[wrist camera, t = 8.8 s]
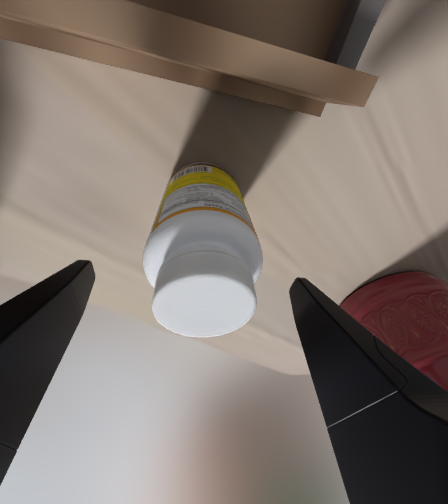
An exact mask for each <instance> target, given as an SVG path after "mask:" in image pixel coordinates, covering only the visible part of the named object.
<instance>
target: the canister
mask: <svg viewBox="0 0 448 504" xmlns="http://www.w3.org/2000/svg"><path fill="white" fill-rule="evenodd" d="M340 307H341V308H342V309H343V310H345V311H346V312H347V313H348V314H349V315H351V316H352V317H353V318H354V319H355V320H357V321H358V322H359V323H360V324H361V325H363V326H364V327H365V328H366V329H367V330H369V331H370V332H371V333H372V334H373V335H375V336H376V337H377V338H378V339H380V340H381V341H382V342H383V343H384V344H386V345H387V346H388V347H389V348H391V349H392V350H393V351H394V352H396V353H397V354H398V355H400V356H401V357H402V358H403V359H405V360H406V361H407V362H409V363H410V364H411V365H413V366H414V367H415V368H417V369H418V370H419V371H421V372H422V373H423V374H425V375H426V376H427V377H429V378H430V379H431V380H433V381H434V382H435V383H437V384H438V385H439V386H441V387H442V388H443V389H445V390H446V391H448V284H447V283H446V282H444V281H442V280H440V279H437V278H436V277H434V276H433V275H431V274H429V273H425V272H403V273H398V274H394V275H390V276H386V277H384V278H381V279H378V280H376V281H374V282H371V283H369V284H367V285H366V286H364V287H362V288H360V289H359V290H357V291H356V292H354V293H353V294H352V295H350V296H349V297H348V298H347V299H346V300H345V301H344V302H343V303H342V304H341V306H340Z"/></svg>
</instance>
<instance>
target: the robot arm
mask: <svg viewBox="0 0 448 504" xmlns="http://www.w3.org/2000/svg"><path fill="white" fill-rule="evenodd" d="M94 281H95V272H94V269H93V265H92V262H91V261H89V260H77V261H76V262H74V263H72V264H70V265H69V266H67V267H65V268H64V269H62V270H60V271H58V272H57V273H55V274H53V275H52V276H50V277H48V278H46V279H45V280H43V281H41V282H39V283H38V284H36V285H34V286H33V287H31V288H30V289H27V290H26V291H24V292H22V293H21V294H19V295H17V296H15V297H14V298H12V299H10V300H9V301H7V302H5V303H3V304H2V305H0V485H1V483H2V481H3V479H4V477H5V475H6V473H7V470H8V468H9V466H10V464H11V462H12V460H13V458H14V456H15V454H16V452H17V449H18V448H19V445H20V443H21V441H22V439H23V437H24V435H25V433H26V431H27V429H28V427H29V425H30V423H31V421H32V419H33V417H34V415H35V413H36V410H37V408H38V406H39V404H40V402H41V400H42V398H43V396H44V394H45V392H46V390H47V387H48V386H49V384H50V382H51V380H52V377H53V375H54V373H55V371H56V369H57V367H58V365H59V363H60V361H61V359H62V357H63V355H64V353H65V351H66V349H67V346H68V345H69V342H70V340H71V338H72V336H73V334H74V332H75V330H76V328H77V326H78V324H79V322H80V320H81V317H82V315H83V313H84V310H85V307H86V305H87V302H88V299H89V296H90V293H91V290H92V287H93V284H94ZM289 294H290V299H291V304H292V310H293V315H294V320H295V324H296V327H297V331H298V334H299V337H300V341H301V344H302V347H303V350H304V354H305V357H306V360H307V364H308V367H309V370H310V373H311V377H312V380H313V383H314V387H315V390H316V393H317V396H318V399H319V403H320V406H321V410H322V413H323V416H324V419H325V423H326V426H327V430H328V433H329V437H330V440H331V443H332V446H333V450H334V453H335V456H336V459H337V463H338V466H339V469H340V473H341V476H342V479H343V483H344V486H345V489H346V492H347V496H348V499H349V502H350V504H448V391H446V390H445V389H443V388H442V387H441V386H439V385H438V384H437V383H435V382H434V381H433V380H431V379H430V378H429V377H427V376H426V375H425V374H423V373H422V372H421V371H419V370H418V369H417V368H415V367H414V366H413V365H411V364H410V363H409V362H407V361H406V360H405V359H403V358H402V357H401V356H400V355H398V354H397V353H396V352H394V351H393V350H392V349H391V348H389V347H388V346H387V345H386V344H384V343H383V342H382V341H381V340H380V339H378V338H377V337H376V336H375V335H373V334H372V333H371V332H370V331H369V330H367V329H366V328H365V327H364V326H363V325H361V324H360V323H359V322H358V321H357V320H355V319H354V318H353V317H352V316H351V315H349V314H348V313H347V312H346V311H345V310H343V309H342V308H341V307H340V306H338V305H337V304H336V303H335V302H334V301H332V300H331V299H330V298H329V297H328V296H326V295H325V294H324V293H323V292H322V291H320V290H319V289H318V288H317V287H316V286H314V285H313V284H312V283H311V282H310V281H308V280H307V279H306V278H299V277H298V278H296V279H295V281H294V282H293V284H292V286H291V288H290V290H289Z"/></svg>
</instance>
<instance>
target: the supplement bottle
mask: <svg viewBox="0 0 448 504" xmlns="http://www.w3.org/2000/svg"><path fill="white" fill-rule="evenodd" d="M262 263H263V255H262V250H261V246H260V243H259V240H258V237H257V235H256V232H255V230H254V227H253V225H252V222H251V219H250V216H249V214H248V211H247V209H246V206H245V203H244V201H243V198H242V196H241V193H240V190H239V187H238V185H237V183H236V182H235V180H234V179H233V177H232V176H231V175H230V174H229V173H228V172H227V171H226V170H224V169H223V168H221V167H219V166H217V165H214V164H211V163H205V162H198V163H192V164H189V165H186V166H184V167H182V168H181V169H179V170H178V171H177V172H176V173H175V174H174V175H173V176H172V177H171V179H170V180H169V182H168V184H167V187H166V190H165V192H164V195H163V198H162V201H161V204H160V206H159V209H158V212H157V215H156V218H155V221H154V224H153V226H152V229H151V232H150V235H149V237H148V240H147V243H146V246H145V249H144V254H143V267H144V271H145V274H146V276H147V278H148V280H149V282H150V284H151V285H152V286H153V287H154V288H155V291H154V295H153V300H152V310H153V314H154V316H155V318H156V319H157V321H158V322H159V323H160V324H161V325H162V326H164V327H165V328H167V329H168V330H170V331H172V332H175V333H177V334H180V335H184V336H190V337H213V336H219V335H223V334H227V333H229V332H232V331H234V330H236V329H238V328H240V327H241V326H243V325H244V324H246V323H247V322H248V321H249V320H250V319H251V317H252V316H253V314H254V312H255V310H256V305H257V300H256V294H255V289H254V283H255V282H256V281H257V279H258V277H259V275H260V272H261V269H262Z"/></svg>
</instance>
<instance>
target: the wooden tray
mask: <svg viewBox="0 0 448 504" xmlns="http://www.w3.org/2000/svg"><path fill="white" fill-rule="evenodd" d="M384 2H385V0H0V38H2V39H6V40H10V41H14V42H18V43H22V44H26V45H30V46H34V47H38V48H42V49H47V50H51V51H55V52H59V53H63V54H67V55H71V56H75V57H79V58H83V59H87V60H91V61H95V62H99V63H103V64H107V65H112V66H116V67H120V68H124V69H128V70H132V71H136V72H140V73H144V74H148V75H152V76H156V77H160V78H164V79H168V80H172V81H176V82H181V83H185V84H189V85H193V86H197V87H201V88H205V89H209V90H213V91H217V92H221V93H225V94H229V95H233V96H237V97H241V98H246V99H250V100H254V101H258V102H262V103H266V104H270V105H274V106H278V107H282V108H286V109H290V110H294V111H298V112H302V113H306V114H310V115H315V116H319V117H320V116H321V113H322V111H323V108H324V106H325V104H326V102H327V103H335V104H343V105H352V106H360V107H364V106H365V104H366V102H367V100H368V98H369V96H370V94H371V92H372V90H373V88H374V86H375V84H376V82H377V80H378V78H379V77H376V76H373V75H370V74H366V73H363V72H360V71H357V70H355V68H356V66H357V64H358V61H359V59H360V57H361V55H362V52H363V50H364V48H365V46H366V43H367V41H368V39H369V36H370V34H371V32H372V30H373V27H374V25H375V23H376V21H377V18H378V16H379V14H380V11H381V9H382V7H383V5H384Z"/></svg>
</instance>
